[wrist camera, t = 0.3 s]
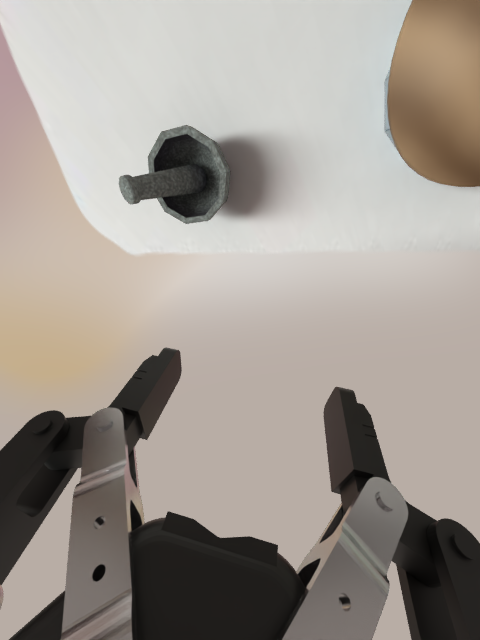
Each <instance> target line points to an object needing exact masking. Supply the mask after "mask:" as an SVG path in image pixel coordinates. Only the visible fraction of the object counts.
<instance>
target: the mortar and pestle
mask: <svg viewBox="0 0 480 640" xmlns="http://www.w3.org/2000/svg"><path fill="white" fill-rule="evenodd" d="M148 165H149V174H145V175H140V176H135V177H132V176H130V175H124V176H121V177H120V178H119V187H120V190H121V193H122V195H123V197H124V199H125V200H126V201H127V202H128V203H129V204H136V203H139V202H140V200H145V199H153V198H157V199H158V201H159V203H160V204H161V206H162V208H163V209H164V211H165V212H166V213H168V214H170V215H172V216H173V217H175V218H177V219H179V220H180V221H182V222H184V223H186V224H189V223H196V222H203V221H208V220H210V219H211V218H212V217H213V216H214V215H215V214H216V212H217V211H218V210H219V209H220V208H221V206H222V205H223V204H224V203H225V202H226V200H227V198H228V190H229V180H230V170H229V167H228V165H227V163H226V161H225V158H224V156H223V154H222V151H221V149H220V147H219V145H218V144H217V142H215V141H214V140H212V139H210V138H209V137H207V136H206V135H204V134H202V133H201V132H199V131H198V130H196V129H194V128H193V127H191V126H188V125H185V126H181V127H177V128H174V129H170V130H166V131H162V132H161V133H160V135H159V137H158V139H157V141H156V143H155V144H154V146H153V148H152V150H151V152H150V154H149V156H148Z"/></svg>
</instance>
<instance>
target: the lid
mask: <svg viewBox="0 0 480 640" xmlns="http://www.w3.org/2000/svg"><path fill="white" fill-rule="evenodd" d="M387 110H388V121H389V126H390V132H391V135H392V138H393V141H394V144H395V146H396V148H397V150H398V152H399V154H400V155H401V157H402V158H403V160H404V161H405V162H406V163H407V164H408V166H409V167H410V168H412V169H413V170H414V171H415V172H416V173H418V174H419V175H421V176H423V177H425V178H426V179H428V180H431V181H434V182H437V183H440V184H445V185H451V186H458V187H475V186H480V0H413V1H412V3H411V5H410V7H409V10H408V12H407V14H406V17H405V20H404V22H403V25H402V28H401V31H400V34H399V37H398V40H397V43H396V47H395V51H394V55H393V59H392V63H391V69H390V75H389V81H388V94H387Z"/></svg>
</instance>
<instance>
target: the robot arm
mask: <svg viewBox="0 0 480 640" xmlns="http://www.w3.org/2000/svg"><path fill="white" fill-rule="evenodd" d="M180 376H181V357H180V351H179V350H175V349H170V348H164V349H163V350H162V351H161V353H160V354H159V356H154V355H152V356H151V357H149V358H148V359H146V360H145V361H144V362H143V363H142V364H141V366H140V367H139V368H138V369H137V371H136V372H135V374H134V375H133V376H132V378H131V379H130V380H129V381H128V383H127V384H126V385H125V387H124V388H123V389H122V390H121V392H120V393H119V394H118V396H117V397H116V398H115V400H114V401H113V402H112V403H111V405H110V406H109V407H107V408H104V409H101V410H99V411H97V412H96V413H94V414H93V415H92V416H85V417H72V418H65V416H64V415H63V414H62V413H61V412H59V411H47V412H44V413H41V414H39V415H37V416H35V417H34V418H32V419H31V420H30V421H29V422H27V423H26V425H24V427H23V428H22V429H21V430H20V431H19V432H18V433H17V434H16V435H15V436H14V437H13V438H12V439H11V440H10V441H9V442H8V443H7V444H6V445H5V446H4V447H3V448H2V450H1V451H0V609H1V606H2V602H3V589H2V587H1V585H2V583H3V582H4V580H5V579H6V577H7V576H8V574H9V573H10V571H11V569H12V568H13V567H14V565H15V563H16V562H17V560H18V559H19V557H20V556H21V554H22V552H23V551H24V550H25V548H26V547H27V545H28V544H29V542H30V541H31V539H32V537H33V536H34V534H35V532H36V531H37V530H38V528H39V527H40V525H41V524H42V522H43V520H44V519H45V517H46V516H47V515H48V513H49V511H50V510H51V508H52V507H53V505H54V504H55V502H56V501H57V499H58V498H59V496H60V495H61V493H62V492H63V490H64V488H65V487H66V485H67V484H68V482H69V481H70V479H71V478H72V476H73V475H74V473H75V472H76V470H77V468H81V480H80V483H79V484H77V485H76V487H75V489H74V494H73V503H72V515H71V527H70V539H69V551H68V563H67V576H66V588H65V591H64V592H63V593H61V594H60V595H59V596H58V597H57V598H56V599H55V600H53V602H51V603H50V604H49V605H48V606H47V607H45V608H44V609H43V610H42V611H41V612H40V613H39V614H38V615H36V616H35V617H34V618H33V619H32V620H31V621H30V622H28V623H27V624H26V625H25V626H24V627H23V628H22V629H20V630H19V631H18V632H17V633H16V634H15V635H14V636H13V637H11V638H10V639H9V640H372V638H373V635H374V632H375V630H376V627H377V624H378V621H379V618H380V616H381V613H382V610H383V607H384V605H385V602H386V599H387V596H388V592H389V581H388V579H387V571H388V568H389V566H390V563H391V561H393V562H394V563H396V566H397V570H398V575H399V580H400V585H401V590H402V595H403V600H404V605H405V610H406V614H407V619H408V624H409V629H410V634H411V639H412V640H480V543H479V542H478V541H477V539H476V538H475V537H474V536H473V535H472V534H471V533H470V532H469V531H468V530H467V529H466V528H465V527H463V526H462V525H461V524H459V523H458V522H456V521H454V520H451V519H441V520H438V521H436V520H435V519H433V518H431V517H430V516H428V515H426V514H425V513H423V512H421V511H420V510H418V509H417V508H415V507H413V506H412V505H410V504H409V503H408V502H406V501H405V500H404V498H403V496H402V495H401V493H400V492H399V491H398V489H397V488H396V487H395V486H394V485H392V484H391V481H390V479H389V476H388V473H387V470H386V466H385V463H384V459H383V456H382V452H381V449H380V446H379V442H378V439H377V435H376V432H375V429H374V425H373V422H372V418H371V415H370V414H369V412H368V411H367V409H366V408H365V406H364V405H363V404H359V403H357V401H356V397H355V393H354V391H353V390H349V389H344V388H340V387H335V389H334V390H333V392H332V394H331V395H330V397H329V399H328V401H327V403H326V405H325V408H324V424H325V434H326V443H327V451H328V452H327V453H328V462H329V472H330V481H331V491H332V492H334V493H338V494H341V501H342V503H341V504H340V506H339V508H338V509H337V511H336V512H335V514H334V516H333V517H332V519H331V520H330V522H329V524H328V525H327V527H326V528H325V530H324V532H323V533H322V535H321V537H320V538H319V540H318V541H317V543H316V544H315V546H314V547H313V548H312V549H311V550H310V552H309V553H308V554H307V556H306V557H305V559H304V560H303V562H302V563H301V565H300V566H299V568H298V570H297V571H295V570H294V568H293V567H292V566H291V565H290V564H289V562H288V561H287V560H286V559H284V558H283V556H281V555H280V554H279V553H277V550H278V545H276V544H272V543H269V542H266V541H263V540H259V539H256V538H253V537H233V538H219V537H217V536H216V535H214V534H213V533H212V532H210V531H209V530H208V529H206V528H205V527H203V526H202V525H201V524H199V523H198V522H197V521H195V520H194V519H191V518H188V517H185V516H181V515H178V514H175V513H171V512H168V513H167V515H166V518H159V519H155V520H152V521H149V522H147V523H145V522H144V513H143V506H142V500H141V496H140V491H139V483H138V473H137V463H136V453H135V445H136V443H137V441H138V440H139V438H142V439H146V440H147V439H148V437H149V435H150V433H151V432H152V430H153V428H154V426H155V424H156V422H157V420H158V419H159V417H160V415H161V413H162V411H163V409H164V407H165V405H166V404H167V402H168V400H169V398H170V396H171V394H172V392H173V391H174V389H175V387H176V385H177V383H178V381H179V379H180Z"/></svg>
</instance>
